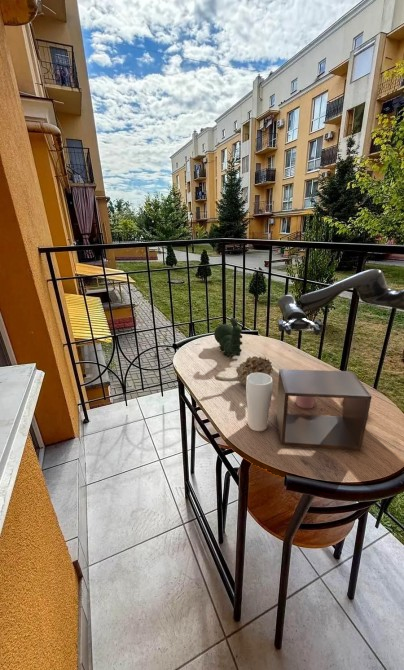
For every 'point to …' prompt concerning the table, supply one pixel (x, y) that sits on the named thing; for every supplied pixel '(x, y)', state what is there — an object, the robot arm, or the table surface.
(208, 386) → the table surface
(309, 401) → the pink canister
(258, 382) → the drinking glass
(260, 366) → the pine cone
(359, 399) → the cubby cabinet
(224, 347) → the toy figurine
